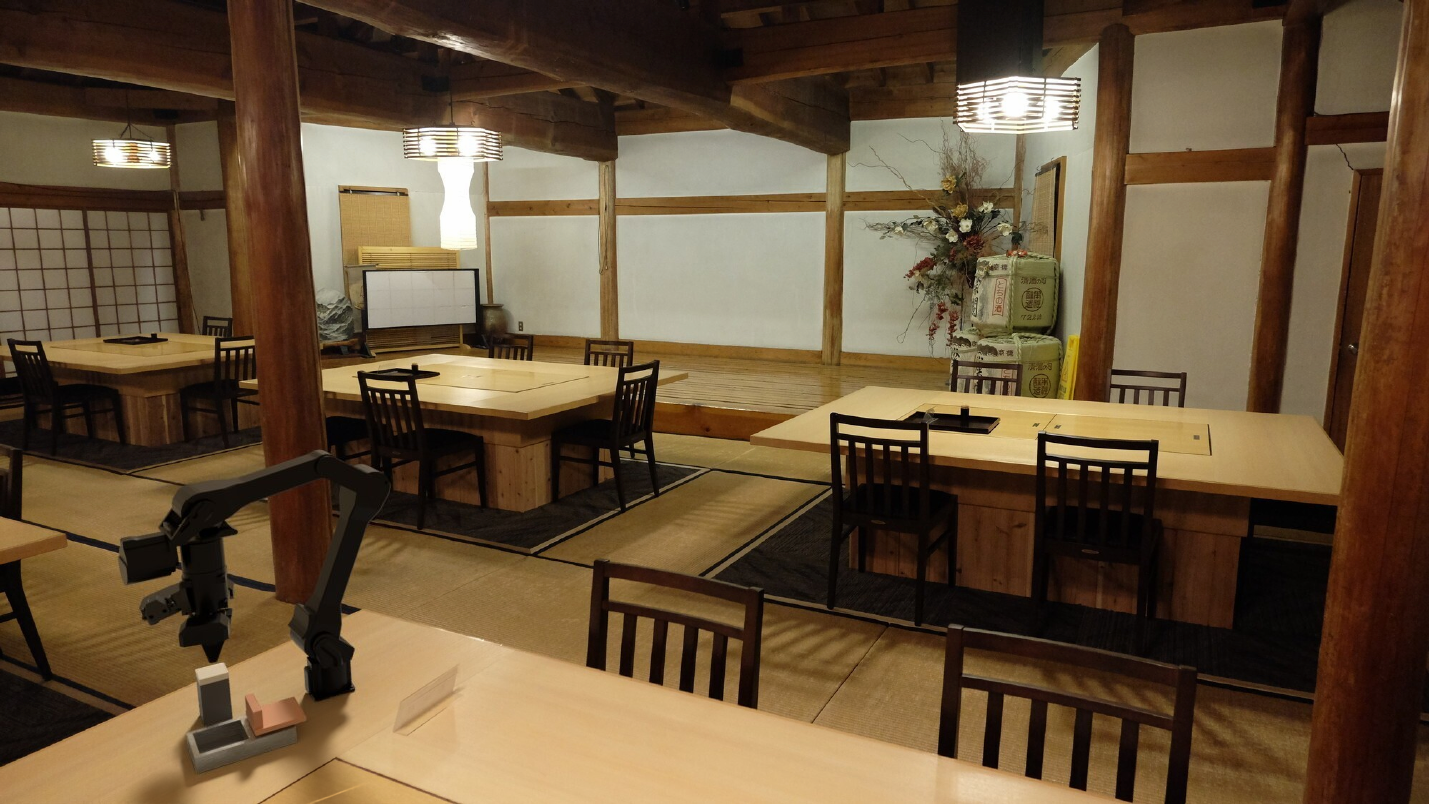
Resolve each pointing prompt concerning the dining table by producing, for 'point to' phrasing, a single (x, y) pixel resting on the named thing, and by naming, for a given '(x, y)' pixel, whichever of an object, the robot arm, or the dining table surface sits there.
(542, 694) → the dining table surface
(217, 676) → the plug
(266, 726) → the salmon l-shaped block
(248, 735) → the grey rectangular box
